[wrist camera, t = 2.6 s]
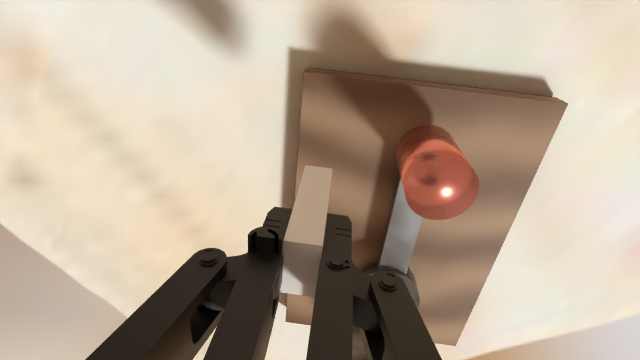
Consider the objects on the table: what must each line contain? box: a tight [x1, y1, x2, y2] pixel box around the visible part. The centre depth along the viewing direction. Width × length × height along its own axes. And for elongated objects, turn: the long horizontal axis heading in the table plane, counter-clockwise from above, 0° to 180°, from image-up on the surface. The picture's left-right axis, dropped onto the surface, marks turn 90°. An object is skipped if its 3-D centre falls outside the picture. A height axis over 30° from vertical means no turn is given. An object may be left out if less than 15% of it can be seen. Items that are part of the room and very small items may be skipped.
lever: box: [360, 125, 479, 309], centre depth 26 cm, size 20×6×7 cm, turn 175°
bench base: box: [286, 68, 568, 360], centre depth 27 cm, size 26×18×10 cm
